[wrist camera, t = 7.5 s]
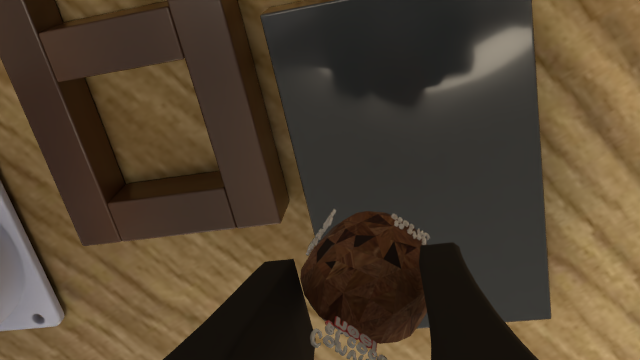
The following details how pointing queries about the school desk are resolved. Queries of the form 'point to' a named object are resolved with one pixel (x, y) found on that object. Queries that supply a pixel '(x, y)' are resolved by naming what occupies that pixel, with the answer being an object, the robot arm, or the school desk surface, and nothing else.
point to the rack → (88, 133)
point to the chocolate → (366, 281)
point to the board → (423, 128)
